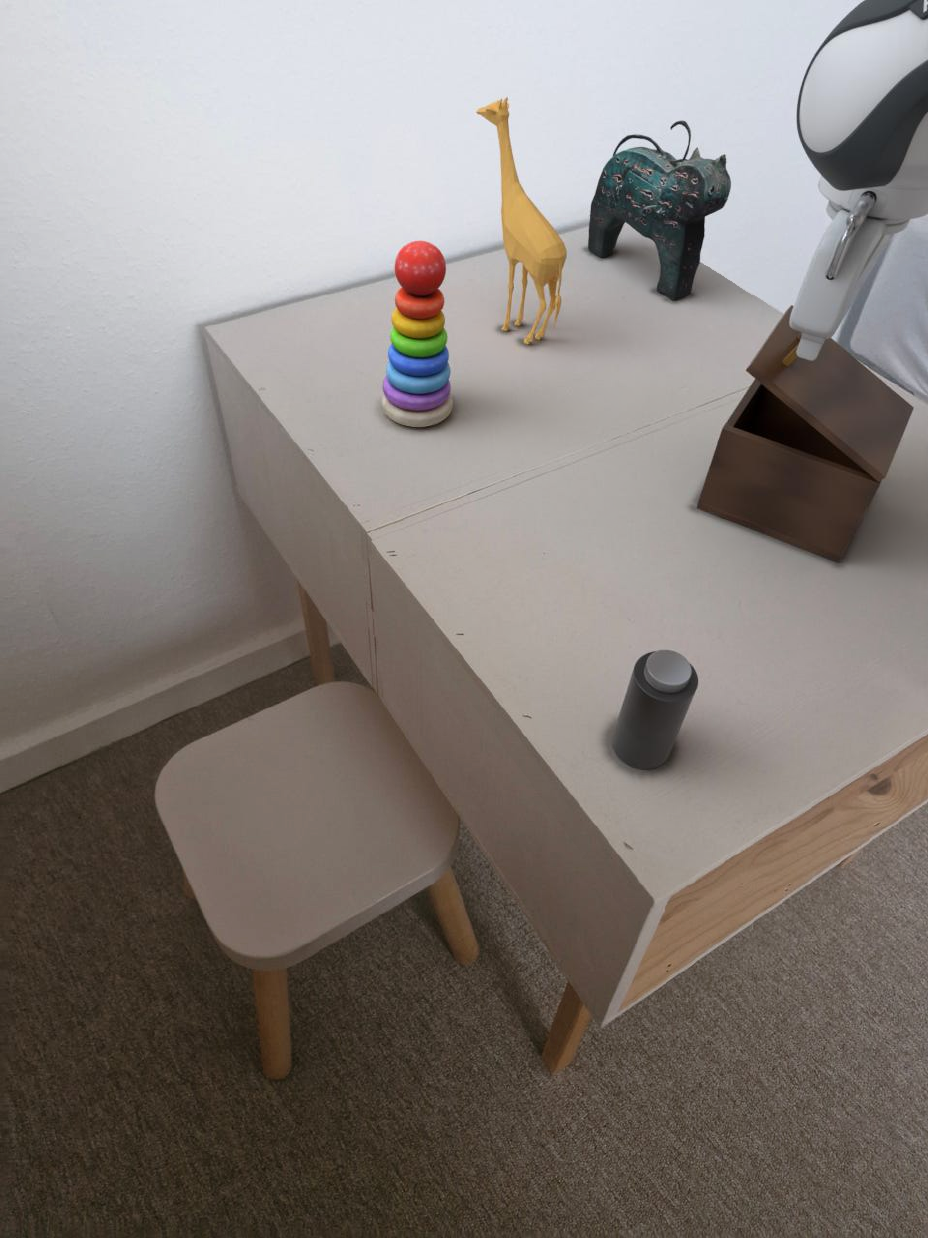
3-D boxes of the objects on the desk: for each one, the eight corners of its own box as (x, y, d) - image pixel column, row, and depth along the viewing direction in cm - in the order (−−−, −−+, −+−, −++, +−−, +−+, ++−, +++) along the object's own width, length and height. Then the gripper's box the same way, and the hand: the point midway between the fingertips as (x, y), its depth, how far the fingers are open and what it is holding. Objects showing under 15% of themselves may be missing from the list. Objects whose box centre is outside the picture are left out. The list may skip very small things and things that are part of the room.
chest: (696, 507, 86) (722, 428, 79) (735, 444, 94) (762, 366, 86) (838, 562, 82) (880, 484, 74) (868, 492, 89) (908, 414, 82)
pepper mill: (678, 737, 68) (711, 659, 60) (656, 779, 65) (688, 703, 57) (625, 711, 69) (651, 632, 62) (602, 752, 66) (626, 674, 59)
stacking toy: (451, 432, 93) (458, 266, 79) (378, 429, 93) (372, 262, 79) (453, 391, 98) (460, 229, 84) (384, 388, 98) (379, 224, 84)
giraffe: (456, 304, 111) (465, 89, 93) (482, 294, 113) (495, 83, 95) (540, 360, 103) (568, 137, 85) (566, 349, 105) (599, 129, 86)
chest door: (745, 370, 74) (786, 327, 70) (786, 310, 82) (825, 268, 77) (878, 482, 74) (927, 446, 70) (907, 412, 82) (953, 376, 78)
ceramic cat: (705, 297, 115) (748, 138, 100) (672, 310, 113) (711, 149, 98) (605, 240, 126) (631, 88, 111) (573, 251, 123) (595, 96, 108)
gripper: (896, 233, 58) (822, 404, 68) (949, 142, 70) (879, 300, 80) (806, 209, 60) (747, 379, 70) (872, 124, 72) (814, 280, 82)
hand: (818, 336), depth 75 cm, fingers closed on chest door, 6 cm apart
